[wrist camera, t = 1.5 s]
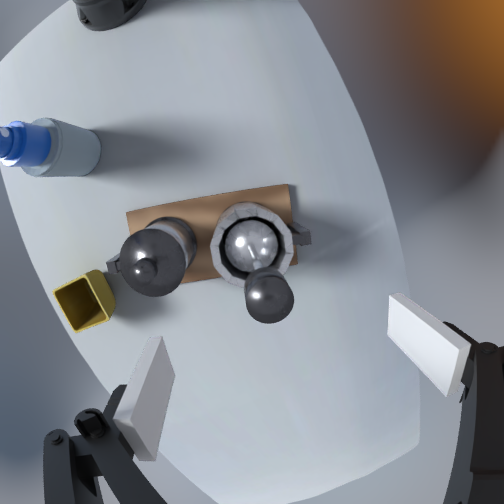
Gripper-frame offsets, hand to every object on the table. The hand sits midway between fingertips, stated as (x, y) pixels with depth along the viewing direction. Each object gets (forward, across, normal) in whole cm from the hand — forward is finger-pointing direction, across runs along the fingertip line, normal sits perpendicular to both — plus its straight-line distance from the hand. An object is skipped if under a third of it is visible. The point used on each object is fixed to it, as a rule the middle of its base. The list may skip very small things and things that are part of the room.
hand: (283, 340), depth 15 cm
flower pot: (+36, -30, -6) cm, 48 cm away
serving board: (+36, -6, 0) cm, 37 cm away
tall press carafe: (+35, +1, 0) cm, 35 cm away
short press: (+35, -15, 0) cm, 38 cm away
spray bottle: (+36, -28, +20) cm, 50 cm away
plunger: (+24, 0, 0) cm, 24 cm away
